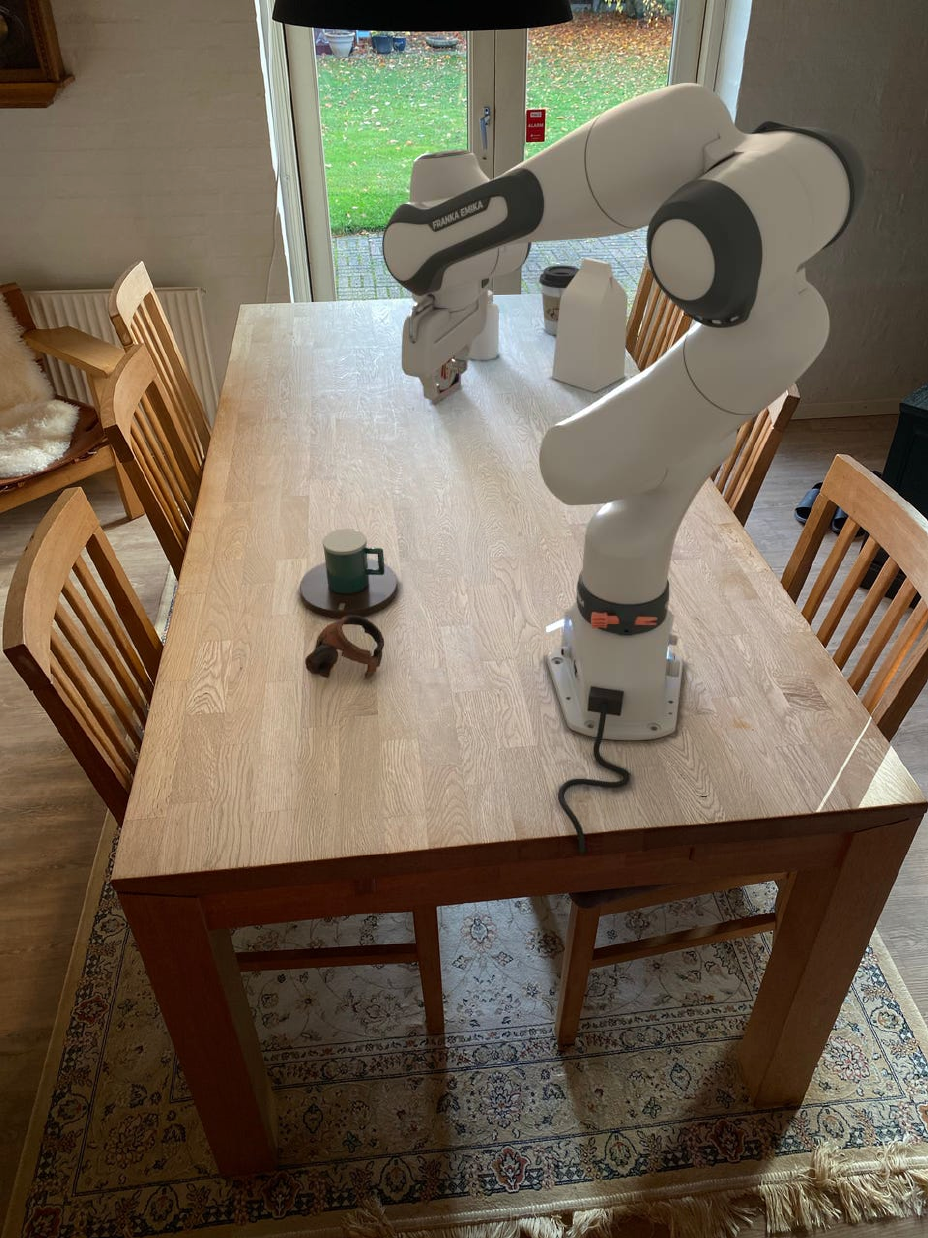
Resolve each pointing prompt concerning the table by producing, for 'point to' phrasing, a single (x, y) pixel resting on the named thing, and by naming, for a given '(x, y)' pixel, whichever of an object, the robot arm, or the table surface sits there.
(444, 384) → the greeting card
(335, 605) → the turntable
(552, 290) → the coffee cup
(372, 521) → the table surface
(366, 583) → the green lidded mug
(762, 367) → the robot arm
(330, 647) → the brown strap loop
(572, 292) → the milk
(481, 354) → the pill bottle
